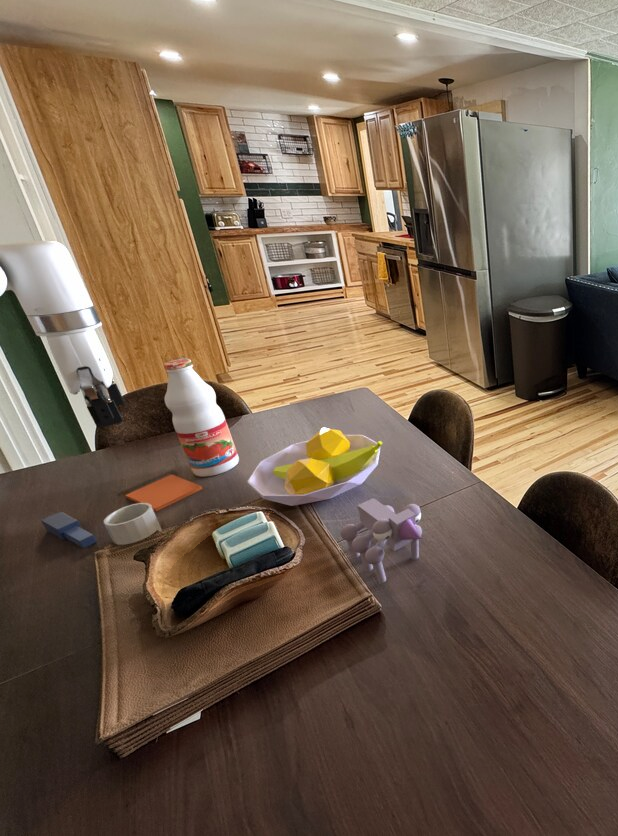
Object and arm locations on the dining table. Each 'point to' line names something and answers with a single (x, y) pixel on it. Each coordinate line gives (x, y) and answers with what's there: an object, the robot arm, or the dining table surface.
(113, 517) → the white round cup
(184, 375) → the fruit juice
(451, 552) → the dining table surface
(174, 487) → the orange tile
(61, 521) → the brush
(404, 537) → the toy sheep
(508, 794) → the dining table surface
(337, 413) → the dining table surface
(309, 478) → the fruit bowl
